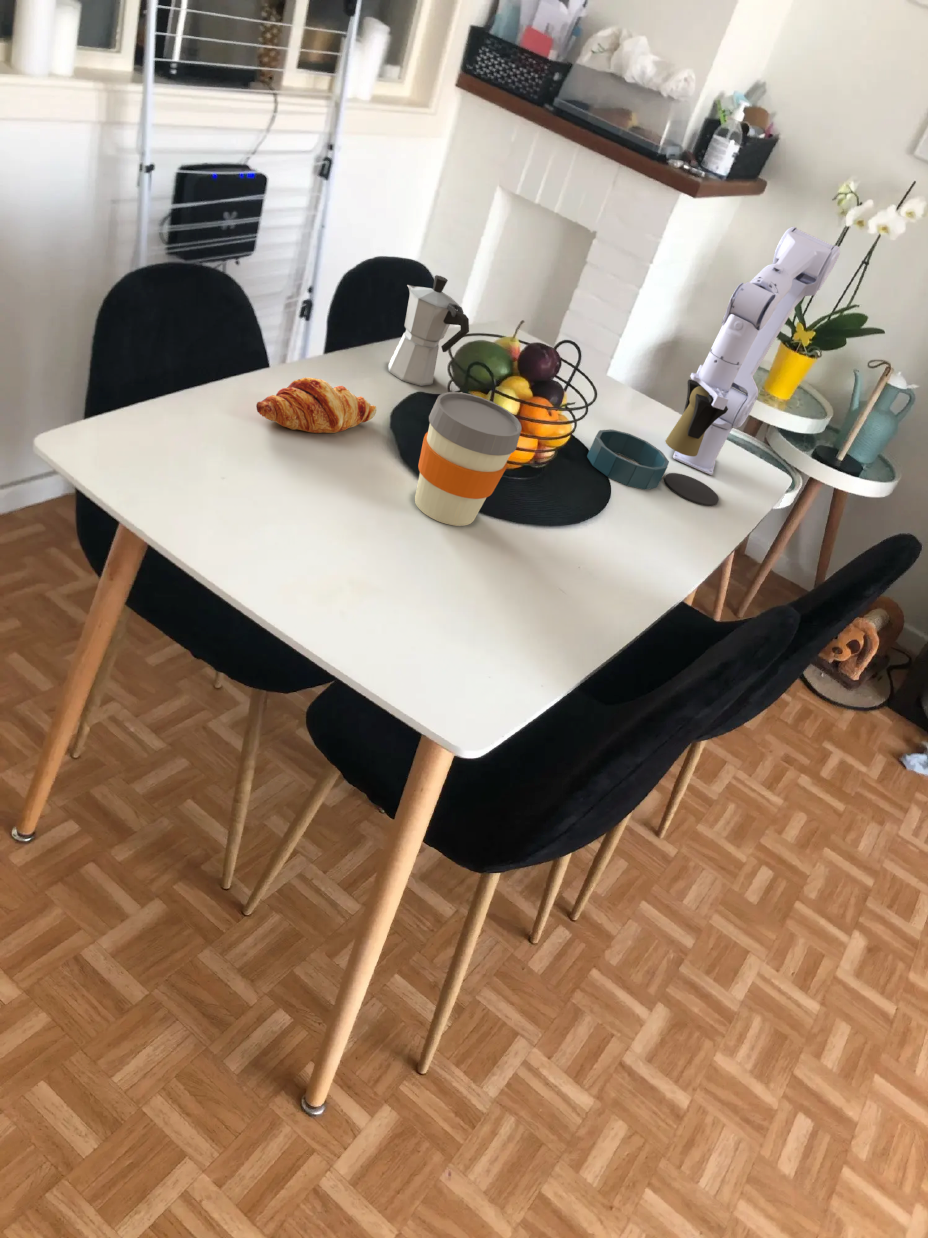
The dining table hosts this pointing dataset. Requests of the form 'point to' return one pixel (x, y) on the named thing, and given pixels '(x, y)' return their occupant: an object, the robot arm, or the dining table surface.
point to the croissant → (316, 407)
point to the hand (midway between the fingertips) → (690, 430)
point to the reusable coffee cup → (463, 456)
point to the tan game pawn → (686, 429)
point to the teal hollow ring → (624, 469)
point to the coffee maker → (426, 332)
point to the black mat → (691, 489)
